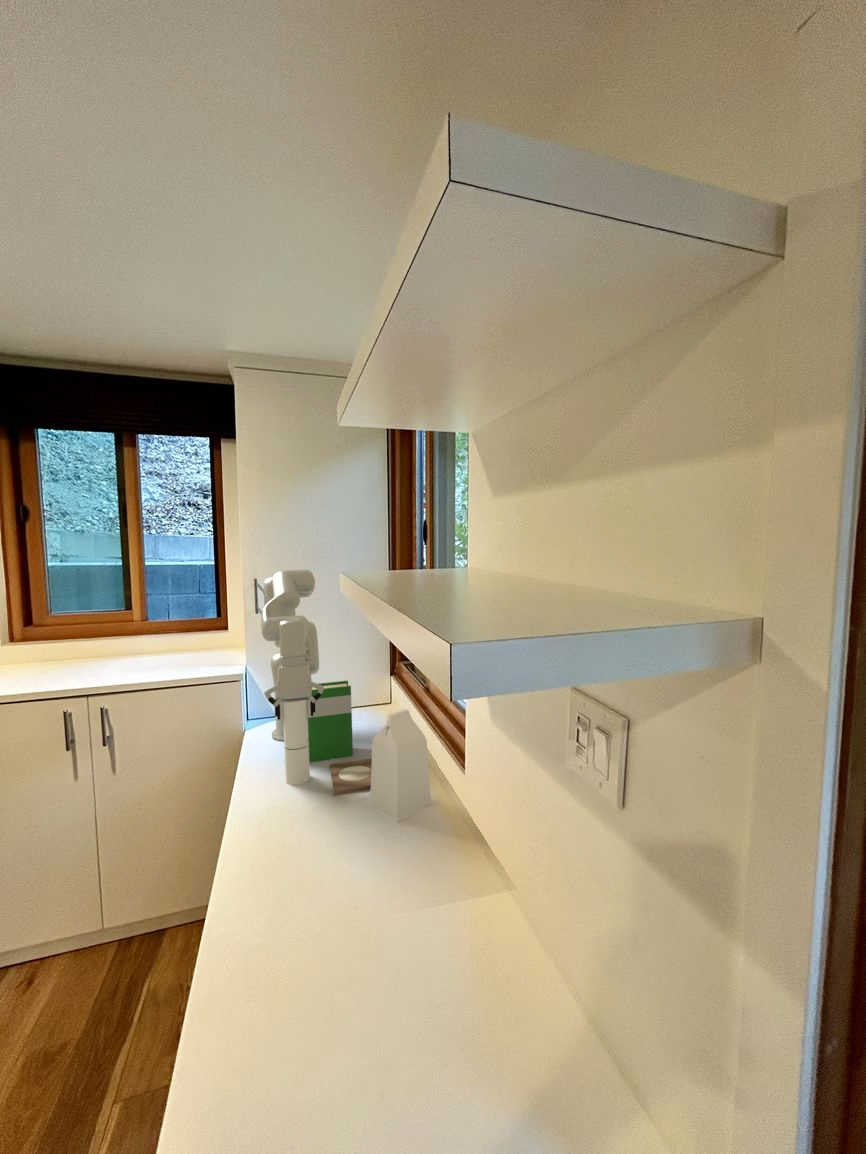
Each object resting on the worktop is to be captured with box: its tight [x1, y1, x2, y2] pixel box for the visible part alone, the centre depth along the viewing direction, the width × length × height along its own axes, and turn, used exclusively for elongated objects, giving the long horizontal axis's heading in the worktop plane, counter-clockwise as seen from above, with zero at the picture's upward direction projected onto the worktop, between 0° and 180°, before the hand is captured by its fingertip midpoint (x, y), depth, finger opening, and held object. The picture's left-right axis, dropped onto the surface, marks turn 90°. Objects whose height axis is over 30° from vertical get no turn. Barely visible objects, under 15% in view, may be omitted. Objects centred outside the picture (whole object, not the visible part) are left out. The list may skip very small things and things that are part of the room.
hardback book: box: [307, 680, 354, 763], centre depth 167 cm, size 18×7×24 cm, turn 108°
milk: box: [369, 708, 432, 823], centre depth 134 cm, size 12×12×26 cm
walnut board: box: [329, 758, 372, 796], centre depth 152 cm, size 18×14×1 cm
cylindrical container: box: [283, 698, 311, 786], centre depth 150 cm, size 7×7×25 cm
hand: (295, 716), depth 149 cm, fingers open, 9 cm apart
